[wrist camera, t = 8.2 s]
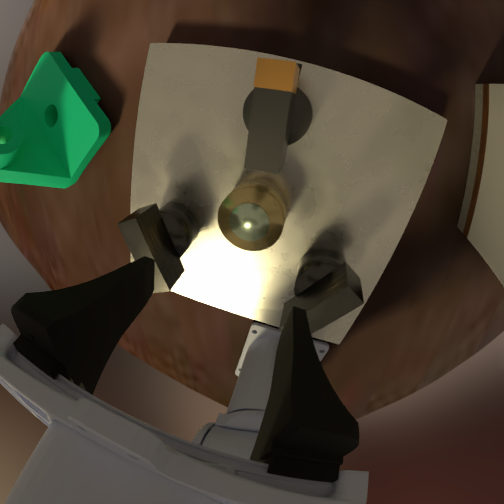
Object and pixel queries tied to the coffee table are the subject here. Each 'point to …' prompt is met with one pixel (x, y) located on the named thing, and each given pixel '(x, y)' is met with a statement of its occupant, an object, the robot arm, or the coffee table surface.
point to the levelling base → (316, 173)
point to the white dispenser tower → (486, 179)
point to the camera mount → (52, 127)
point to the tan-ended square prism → (274, 114)
